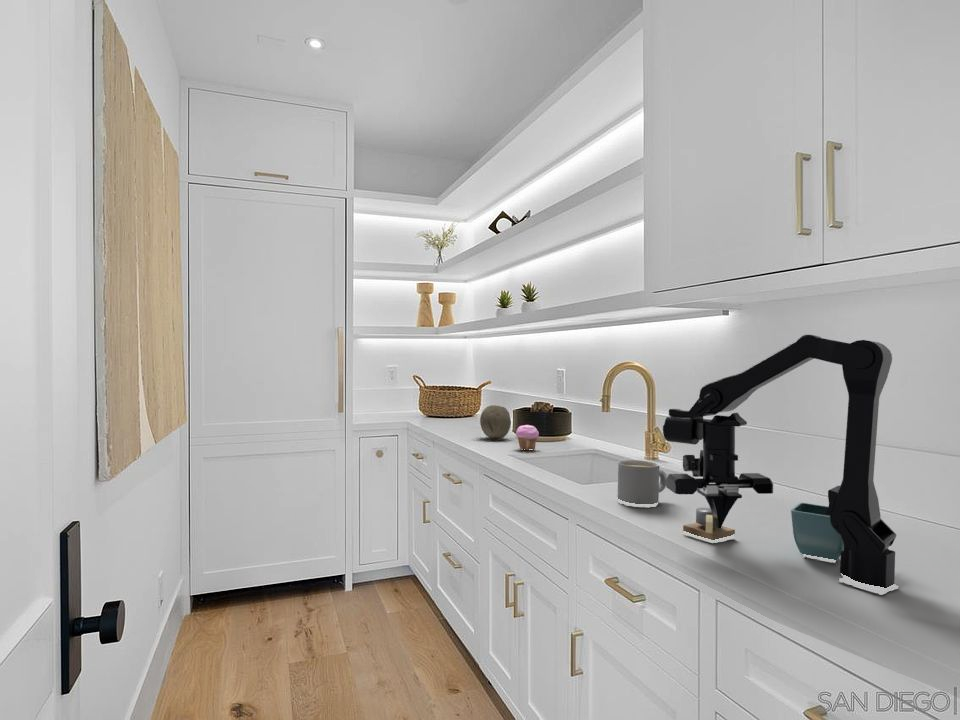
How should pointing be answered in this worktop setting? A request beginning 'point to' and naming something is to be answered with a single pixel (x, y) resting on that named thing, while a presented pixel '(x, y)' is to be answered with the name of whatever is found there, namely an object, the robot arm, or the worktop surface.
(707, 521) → the toy pan
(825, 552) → the flower pot
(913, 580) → the worktop surface
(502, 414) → the cantaloupe
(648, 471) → the coffee mug
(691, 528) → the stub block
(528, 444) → the cupcake
